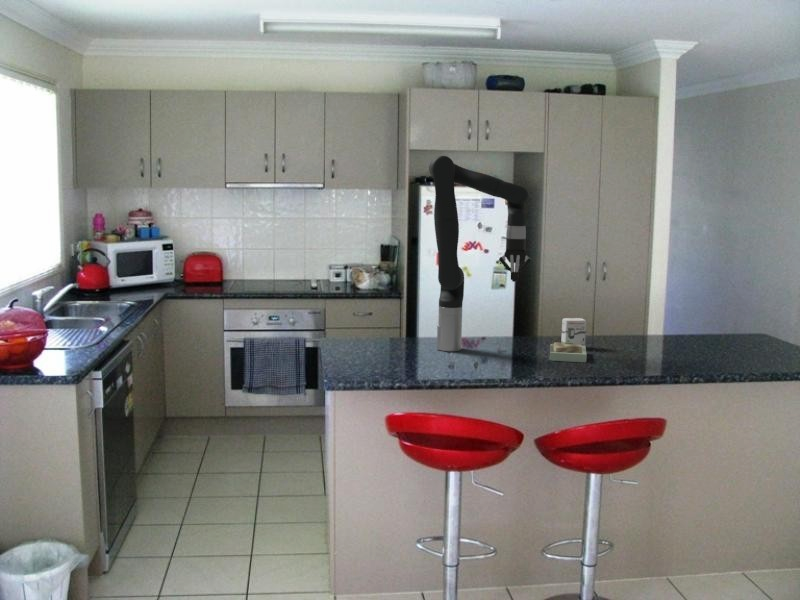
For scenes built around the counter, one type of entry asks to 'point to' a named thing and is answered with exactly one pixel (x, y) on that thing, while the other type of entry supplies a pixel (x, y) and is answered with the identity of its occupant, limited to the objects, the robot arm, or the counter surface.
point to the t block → (567, 348)
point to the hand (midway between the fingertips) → (514, 281)
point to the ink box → (573, 331)
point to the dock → (567, 355)
